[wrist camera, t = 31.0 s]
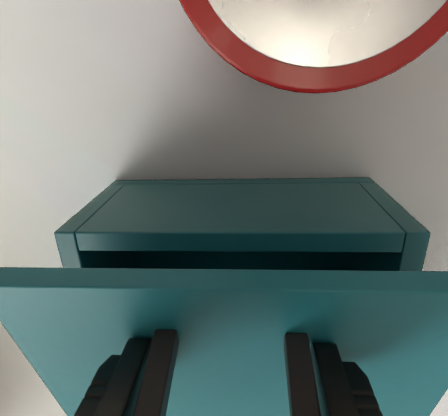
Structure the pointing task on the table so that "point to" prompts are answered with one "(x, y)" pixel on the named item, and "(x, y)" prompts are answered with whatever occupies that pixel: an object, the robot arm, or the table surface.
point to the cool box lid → (232, 334)
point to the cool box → (244, 226)
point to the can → (318, 38)
